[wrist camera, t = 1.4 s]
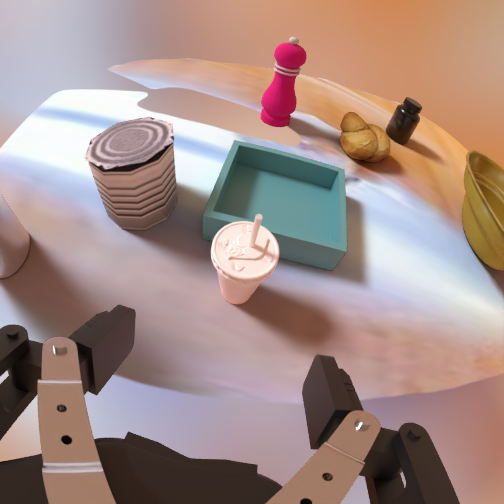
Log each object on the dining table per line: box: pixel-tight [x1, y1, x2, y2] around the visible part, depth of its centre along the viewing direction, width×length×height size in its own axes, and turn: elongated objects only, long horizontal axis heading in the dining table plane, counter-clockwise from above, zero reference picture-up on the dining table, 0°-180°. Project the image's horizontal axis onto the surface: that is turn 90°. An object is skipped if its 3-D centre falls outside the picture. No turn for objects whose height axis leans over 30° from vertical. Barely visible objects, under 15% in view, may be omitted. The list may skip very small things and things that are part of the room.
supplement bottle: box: [386, 97, 422, 144], centre depth 57 cm, size 7×7×12 cm
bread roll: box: [340, 112, 390, 163], centre depth 51 cm, size 13×10×8 cm
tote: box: [203, 140, 347, 271], centre depth 39 cm, size 18×16×5 cm
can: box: [85, 117, 178, 230], centre depth 34 cm, size 11×11×12 cm
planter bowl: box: [462, 151, 504, 271], centre depth 42 cm, size 32×32×13 cm
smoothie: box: [211, 214, 279, 304], centre depth 28 cm, size 6×6×14 cm
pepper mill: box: [261, 37, 306, 127], centre depth 47 cm, size 7×7×20 cm
